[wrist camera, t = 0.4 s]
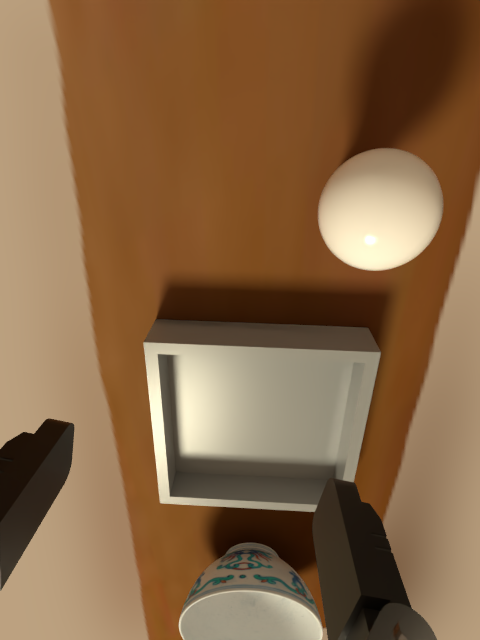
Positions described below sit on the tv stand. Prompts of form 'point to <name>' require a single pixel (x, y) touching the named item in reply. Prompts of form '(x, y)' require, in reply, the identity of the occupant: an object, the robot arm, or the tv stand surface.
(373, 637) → the robot arm
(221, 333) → the tray
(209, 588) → the chinaware
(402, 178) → the lightbulb
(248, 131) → the tv stand surface
